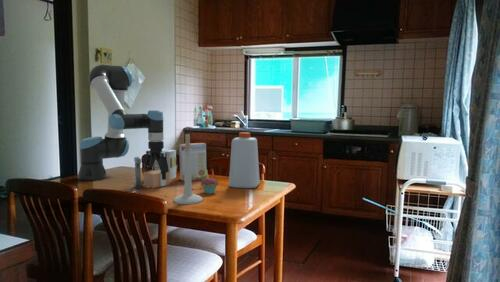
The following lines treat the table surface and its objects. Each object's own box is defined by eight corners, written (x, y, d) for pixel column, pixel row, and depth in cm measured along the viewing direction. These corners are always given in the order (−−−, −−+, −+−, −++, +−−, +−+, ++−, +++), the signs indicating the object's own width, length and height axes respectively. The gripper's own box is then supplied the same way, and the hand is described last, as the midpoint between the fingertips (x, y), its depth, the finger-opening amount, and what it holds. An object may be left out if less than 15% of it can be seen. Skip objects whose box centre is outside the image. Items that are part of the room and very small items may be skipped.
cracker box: (203, 178, 214) (203, 142, 212) (206, 180, 208) (206, 143, 206) (179, 180, 208) (179, 143, 206) (182, 182, 202) (181, 144, 200)
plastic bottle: (233, 181, 205) (233, 131, 202) (260, 183, 202) (261, 131, 199) (227, 187, 190) (227, 133, 187) (256, 189, 187) (256, 134, 185)
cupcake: (210, 195, 174) (210, 170, 173) (196, 192, 179) (196, 168, 178) (221, 191, 182) (221, 167, 180) (207, 189, 186) (207, 165, 185)
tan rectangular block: (140, 186, 187) (140, 172, 187) (160, 182, 196) (159, 169, 196) (150, 188, 182) (149, 174, 182) (169, 184, 191) (169, 171, 191)
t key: (136, 190, 177) (136, 159, 176) (134, 186, 186) (133, 156, 185) (142, 190, 178) (141, 159, 177) (139, 186, 187) (138, 156, 186)
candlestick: (200, 196, 172) (199, 132, 170) (204, 203, 160) (204, 134, 157) (172, 198, 169) (171, 132, 166) (174, 205, 157) (173, 134, 154)
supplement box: (169, 182, 204) (169, 151, 202) (154, 181, 205) (153, 151, 204) (176, 178, 213) (176, 149, 211) (161, 177, 215) (161, 149, 213)
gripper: (136, 140, 192) (137, 182, 194) (163, 142, 178) (164, 188, 180) (149, 139, 198) (149, 180, 200) (175, 141, 184) (176, 186, 186)
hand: (156, 184), depth 190 cm, fingers open, 9 cm apart
